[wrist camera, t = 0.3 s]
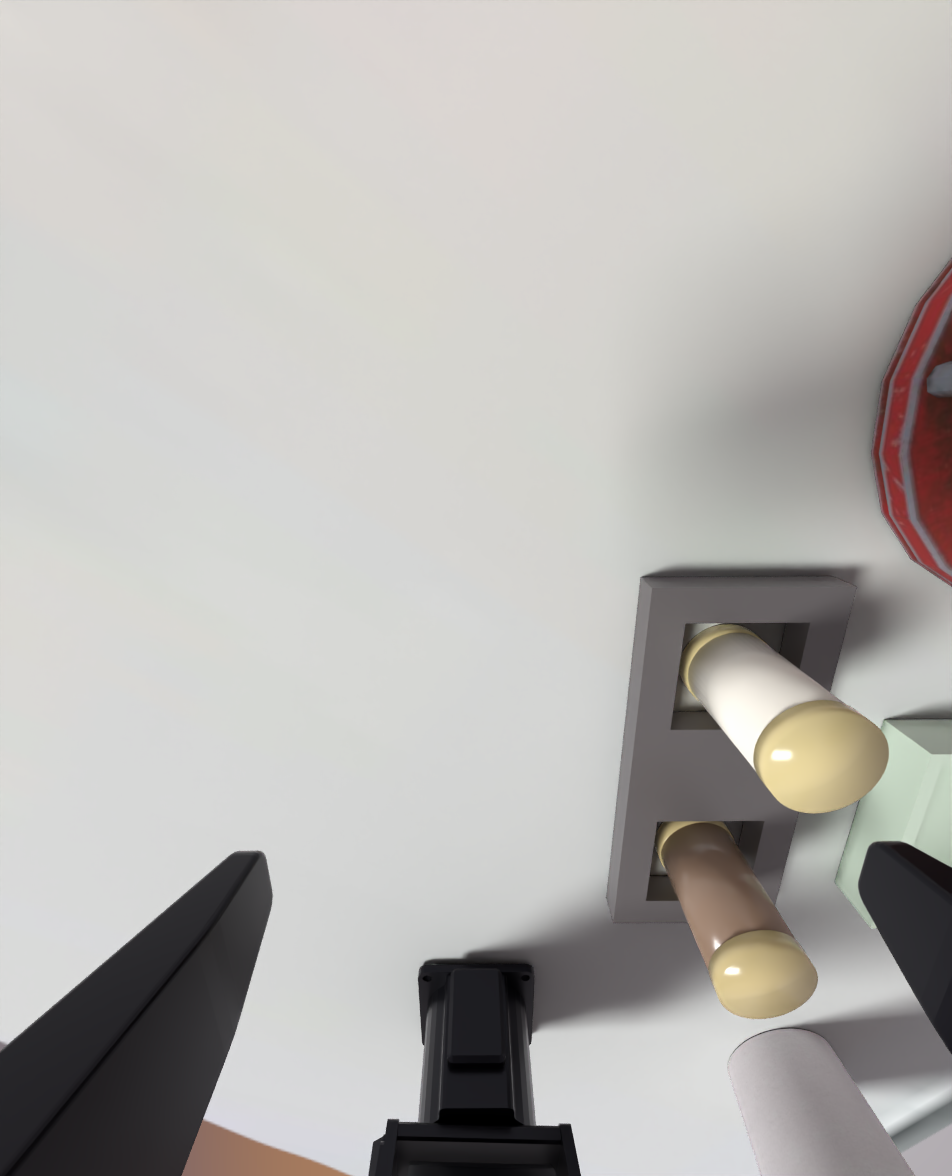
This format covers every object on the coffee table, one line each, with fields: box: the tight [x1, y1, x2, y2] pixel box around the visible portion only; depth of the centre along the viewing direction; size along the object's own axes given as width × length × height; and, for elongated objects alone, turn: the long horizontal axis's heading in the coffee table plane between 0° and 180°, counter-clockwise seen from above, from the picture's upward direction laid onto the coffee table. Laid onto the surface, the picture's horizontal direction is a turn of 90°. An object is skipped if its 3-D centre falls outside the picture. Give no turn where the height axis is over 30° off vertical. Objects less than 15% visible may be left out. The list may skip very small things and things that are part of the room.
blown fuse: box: [654, 821, 818, 1019], centre depth 22 cm, size 4×4×7 cm
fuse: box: [679, 624, 889, 813], centre depth 18 cm, size 4×4×7 cm
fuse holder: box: [606, 576, 857, 923], centre depth 23 cm, size 18×8×1 cm, turn 0°
